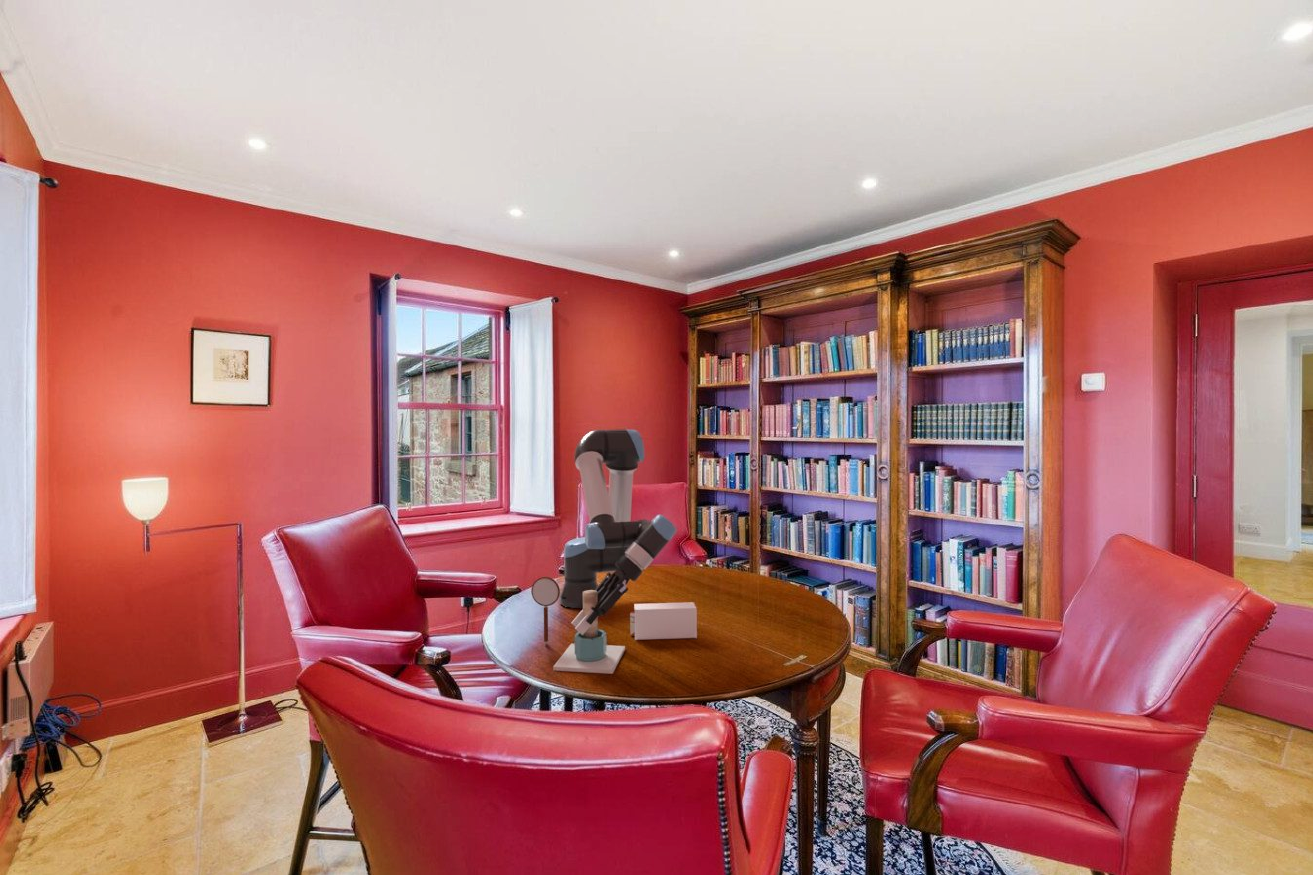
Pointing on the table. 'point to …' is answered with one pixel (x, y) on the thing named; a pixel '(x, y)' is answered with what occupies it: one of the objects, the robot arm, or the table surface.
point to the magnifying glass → (545, 597)
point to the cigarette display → (664, 621)
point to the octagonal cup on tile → (590, 655)
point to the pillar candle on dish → (588, 602)
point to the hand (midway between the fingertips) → (576, 628)
